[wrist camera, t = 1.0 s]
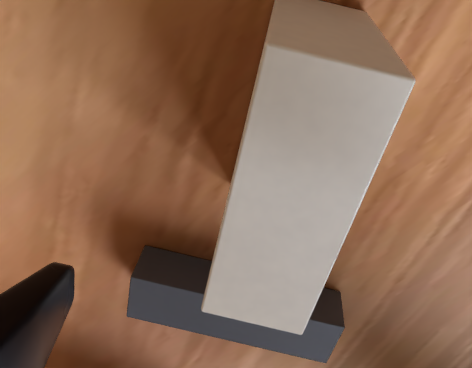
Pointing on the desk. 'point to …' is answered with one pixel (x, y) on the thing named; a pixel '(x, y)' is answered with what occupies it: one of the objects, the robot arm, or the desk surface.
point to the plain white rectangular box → (303, 160)
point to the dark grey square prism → (193, 319)
